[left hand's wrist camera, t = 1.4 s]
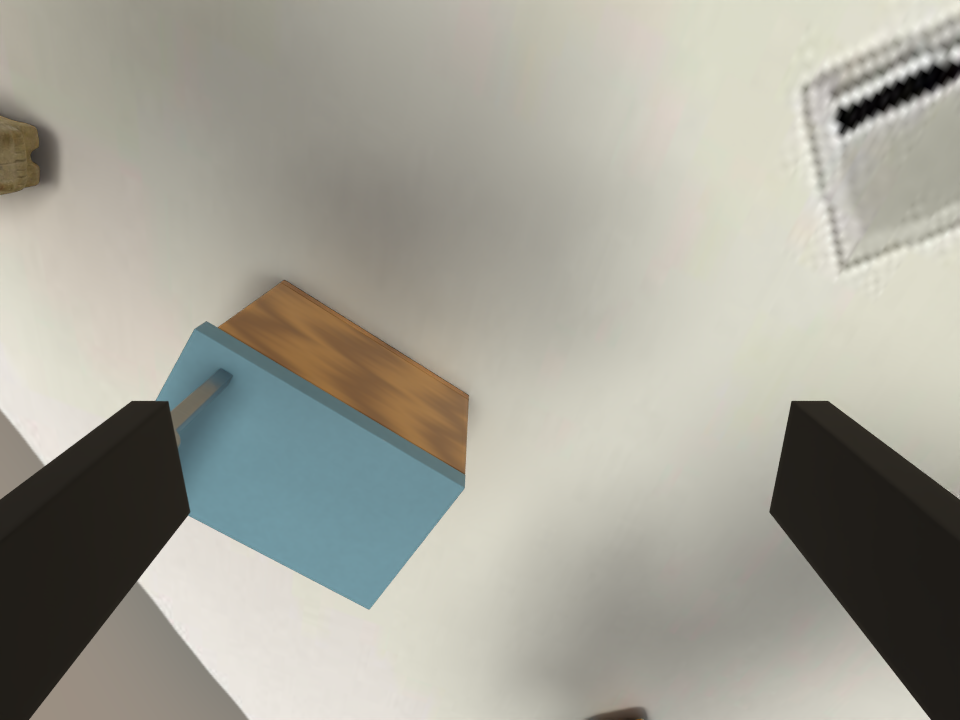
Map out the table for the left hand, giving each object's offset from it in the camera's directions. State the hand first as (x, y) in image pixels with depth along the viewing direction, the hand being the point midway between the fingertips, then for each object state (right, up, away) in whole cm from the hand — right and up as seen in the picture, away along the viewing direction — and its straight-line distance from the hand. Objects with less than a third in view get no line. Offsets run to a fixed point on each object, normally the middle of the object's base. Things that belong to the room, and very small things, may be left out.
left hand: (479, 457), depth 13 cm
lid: (-10, -4, +19) cm, 21 cm away
